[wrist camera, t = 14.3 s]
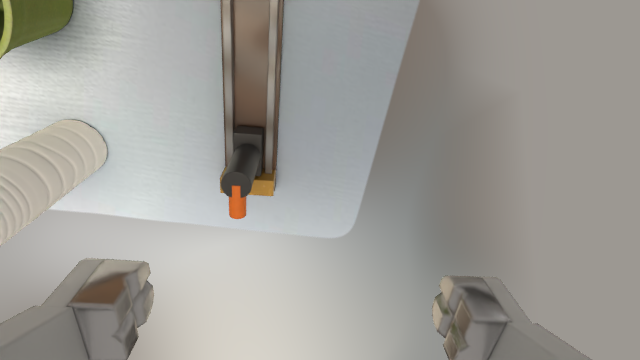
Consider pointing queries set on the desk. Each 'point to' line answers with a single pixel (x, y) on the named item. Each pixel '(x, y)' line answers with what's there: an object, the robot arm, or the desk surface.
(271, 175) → the block
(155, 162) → the desk surface
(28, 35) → the plant pot
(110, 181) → the desk surface
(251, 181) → the nozzle
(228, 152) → the rail
